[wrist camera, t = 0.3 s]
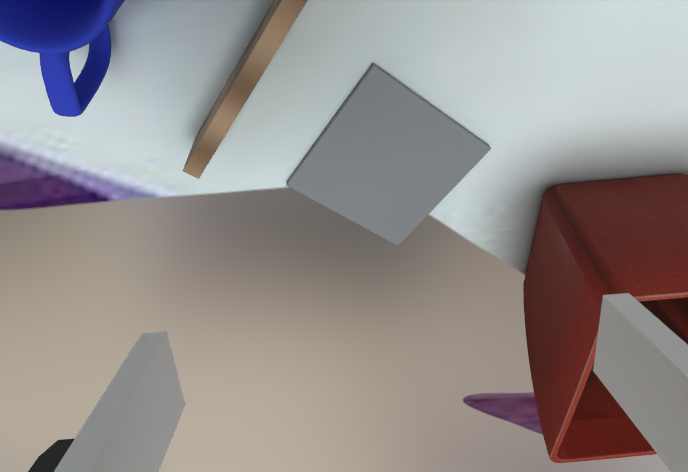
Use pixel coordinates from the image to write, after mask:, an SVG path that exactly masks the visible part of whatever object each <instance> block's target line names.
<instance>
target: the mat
mask: <svg viewBox="0 0 688 472" xmlns="http://www.w3.org/2000/svg"><path fill="white" fill-rule="evenodd" d="M490 149H491V148H490V146H489V145H488V144H487V143H485V142H484V141H482V140H481V139H479V138H478V137H477V136H475V135H474V134H472V133H471V132H470V131H468V130H467V129H465V128H464V127H463V126H461V125H460V124H458V123H457V122H456V121H454V120H453V119H451V118H450V117H448V116H447V115H446V114H444V113H443V112H441V111H440V110H439V109H437V108H436V107H434V106H433V105H432V104H430V103H429V102H427V101H426V100H425V99H423V98H422V97H420V96H419V95H418V94H416V93H415V92H413V91H412V90H410V89H409V88H408V87H406V86H405V85H403V84H402V83H401V82H399V81H398V80H396V79H395V78H394V77H392V76H391V75H389V74H388V73H387V72H385V71H384V70H382V69H381V68H380V67H378V66H377V65H375V64H374V63H373V64H372V65H371V66H370V68H369V69H368V71H367V72H366V73H365V75H364V76H363V77H362V79H361V80H360V82H359V83H358V84H357V86H356V87H355V88H354V90H353V91H352V93H351V94H350V95H349V97H348V98H347V99H346V101H345V102H344V104H343V105H342V106H341V108H340V109H339V110H338V112H337V113H336V115H335V116H334V117H333V119H332V120H331V121H330V123H329V124H328V126H327V127H326V128H325V130H324V131H323V132H322V134H321V135H320V137H319V138H318V139H317V141H316V142H315V143H314V145H313V146H312V148H311V149H310V150H309V152H308V153H307V154H306V156H305V157H304V159H303V160H302V161H301V163H300V164H299V165H298V167H297V168H296V170H295V171H294V172H293V174H292V175H291V176H290V178H289V179H288V181H287V185H286V186H288V187H290V188H292V189H294V190H296V191H298V192H299V193H301V194H303V195H305V196H307V197H309V198H311V199H313V200H314V201H316V202H318V203H320V204H322V205H324V206H325V207H327V208H329V209H331V210H333V211H335V212H336V213H338V214H340V215H342V216H344V217H346V218H348V219H349V220H351V221H353V222H355V223H357V224H359V225H360V226H362V227H364V228H366V229H368V230H370V231H372V232H373V233H375V234H377V235H379V236H381V237H383V238H385V239H386V240H388V241H390V242H392V243H394V244H396V245H397V246H398V245H399V244H400V243H401V242H402V241H403V240H404V239H405V238H406V237H407V236H408V235H409V234H410V233H411V232H412V231H413V229H415V228H416V226H418V224H419V223H420V222H421V221H422V220H423V219H424V218H425V217H426V216H427V215H428V214H429V213H430V212H431V211H432V210H433V209H434V208H435V207H436V206H437V205H438V204H439V203H440V201H441V200H442V199H443V198H444V197H445V196H446V195H447V194H448V193H449V192H450V191H451V190H452V189H453V188H454V187H455V186H456V185H457V184H458V183H459V182H460V181H461V180H462V178H463V177H464V176H465V175H466V174H467V173H468V172H469V171H470V170H471V169H472V168H473V167H474V166H475V165H476V164H477V163H478V162H479V161H480V160H481V159H482V158H483V157H484V155H485V154H486V153H487V152H488V151H489V150H490Z"/></svg>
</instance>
